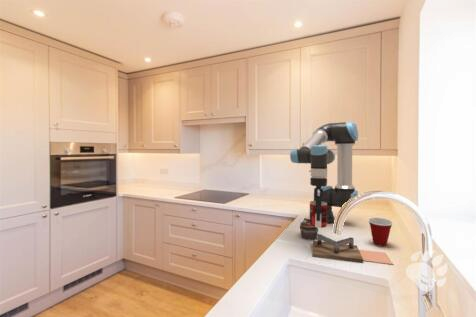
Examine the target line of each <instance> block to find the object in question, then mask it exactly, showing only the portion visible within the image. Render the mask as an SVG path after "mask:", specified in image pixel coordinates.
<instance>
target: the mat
mask: <svg viewBox="0 0 476 317" xmlns="http://www.w3.org/2000/svg"><path fill="white" fill-rule="evenodd" d="M359 251H360V254H361V256H362V258H363V262H367V263H375V264H382V265H389V266H390V265H392V266H394V263H393V261H392V260H391V259H390V256H388V254H387V253H386V252H385V251H384V252H382V251H375V250H364V249H359Z"/></svg>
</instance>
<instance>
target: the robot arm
mask: <svg viewBox="0 0 476 317" xmlns="http://www.w3.org/2000/svg"><path fill="white" fill-rule="evenodd" d="M358 140H359V132H358V127H357V125H356V123H355V122H353V121H345V122H333V123H332V122H329V123H326V124H323V125H321V126H320V127H318V128H317V129H316V130H314V131H313V132H312V135H311V137H309V139H307V141H305V142H304V143H303V144H302V145H301V146H300V147H299V149H298V148H296V149H292V150H291V152H290V153H289V158H290V161H291V163H294V164H310V170H309V172H310V179H309V180H310V186H311V187H312V186H313V187H314V189H313V201H316V211H315V212H314V213H315V227H317V228H318V229H321V228H322V227H321V213H322V212H321V201H322V202H326V203H327V224H333V223H335V222H334V220H336V219H335V216H334V212H333V207H336V208H342V205H343V204H344V203H345V202H347V201H348V200H349V199H351V198H353V197H355V196H357V195H359V194H358V193H359V192H358V190H357V189H355V188H356V187H355V186H354V184H353V146H354V145H355V144H356V141H358ZM326 142H334V145H335V146H336V148H337V149H336V150H337V152H336V153H337V158H336V154H335V152H334V151H333V150H331V149H330V148H328V145H326V144H325V143H326ZM335 159H336V161H337V163H336V165H337V166H336V167H337V168H336V169H337V180H336V182H337V183H336V185H334V188H333V186H332V185H328V178H327V177H328V165H330V164H332V163H334V161H335ZM318 210H320V211H318ZM331 222H332V223H331Z"/></svg>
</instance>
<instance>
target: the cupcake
mask: <svg viewBox="0 0 476 317" xmlns="http://www.w3.org/2000/svg"><path fill="white" fill-rule="evenodd" d="M299 229H300V236H301V238H302V239H304V240H308V241H316V240H317V234H319V228H318V227H314V226H311V225H310V218H306V217H305V218H303V221H302V222H300V226H299Z"/></svg>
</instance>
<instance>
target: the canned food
mask: <svg viewBox="0 0 476 317" xmlns="http://www.w3.org/2000/svg"><path fill="white" fill-rule="evenodd" d="M315 211H316V201H314V200H311V201H310V202H309V219H310V225H311V226H314V227H315V213H314V212H315ZM318 211H320V210H318ZM321 212H322V213H321V228H325V227H326V226H327V224H328V223H327V203H326V202H322V201H321Z"/></svg>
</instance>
